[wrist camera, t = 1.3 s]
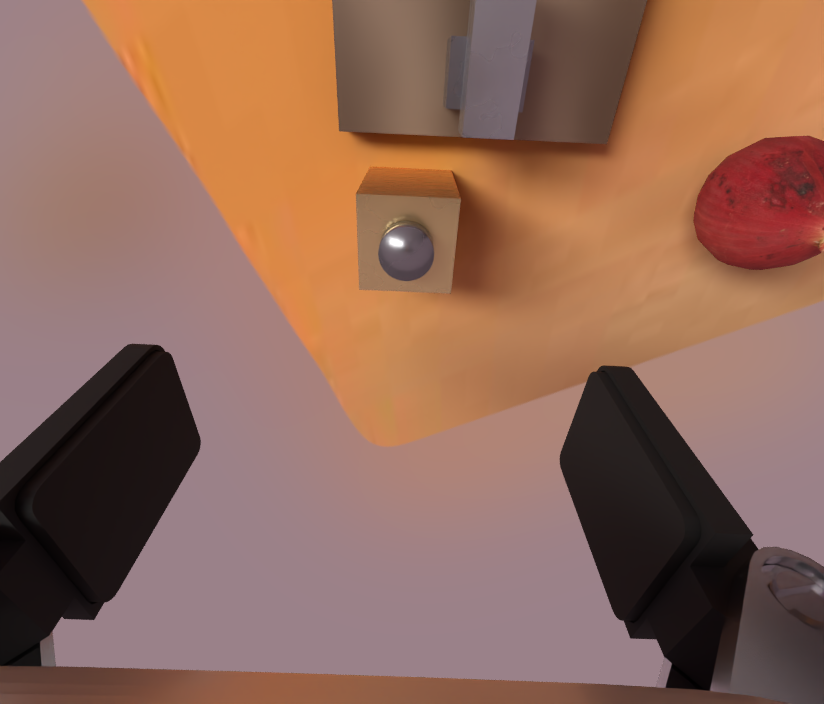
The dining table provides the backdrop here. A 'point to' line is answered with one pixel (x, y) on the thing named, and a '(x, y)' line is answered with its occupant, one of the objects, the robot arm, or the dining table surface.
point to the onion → (765, 204)
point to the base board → (448, 16)
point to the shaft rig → (490, 68)
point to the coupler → (407, 229)
